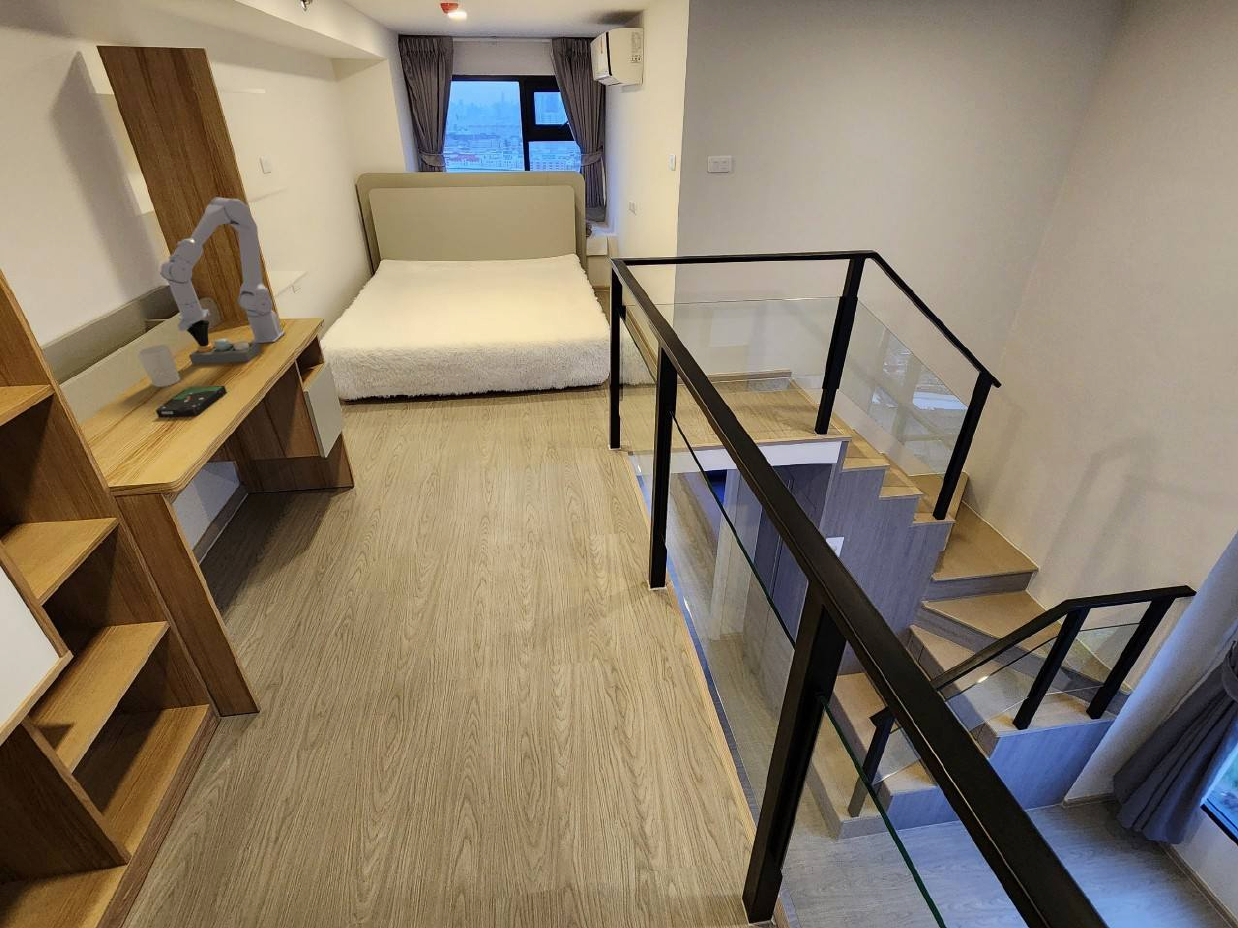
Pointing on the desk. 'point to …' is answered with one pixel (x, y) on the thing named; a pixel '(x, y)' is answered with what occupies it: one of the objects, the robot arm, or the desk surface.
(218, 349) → the grey rounded dome
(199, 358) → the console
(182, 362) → the desk surface
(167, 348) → the white cup
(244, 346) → the button ivory
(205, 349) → the button orange
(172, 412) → the disk drive
